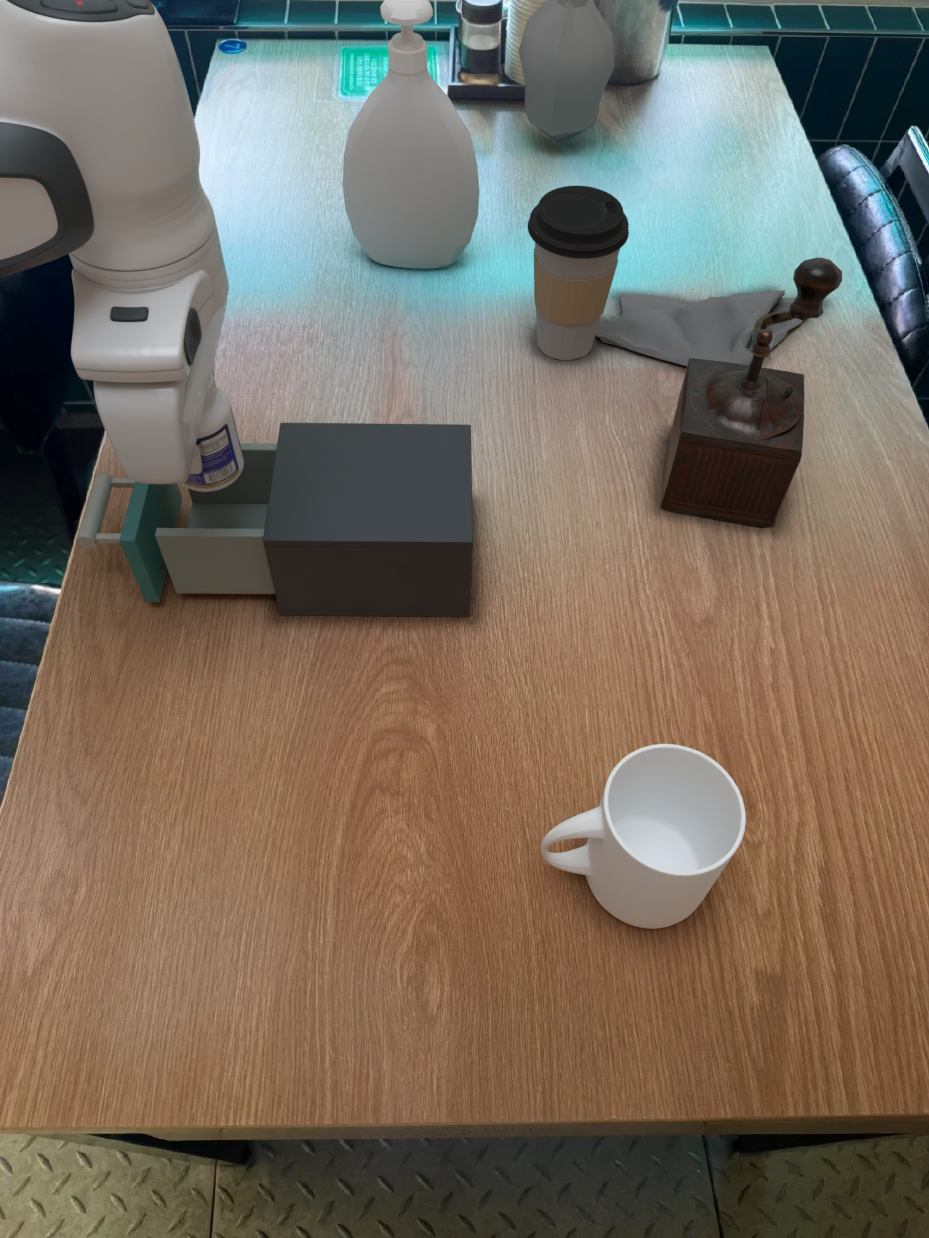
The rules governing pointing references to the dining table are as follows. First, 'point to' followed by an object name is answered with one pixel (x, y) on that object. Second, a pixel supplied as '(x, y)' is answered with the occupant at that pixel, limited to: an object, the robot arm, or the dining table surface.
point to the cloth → (695, 326)
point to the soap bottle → (410, 159)
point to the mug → (655, 835)
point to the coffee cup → (574, 265)
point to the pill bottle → (217, 444)
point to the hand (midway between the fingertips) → (199, 435)
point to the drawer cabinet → (371, 520)
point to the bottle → (565, 66)
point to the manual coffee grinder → (743, 422)
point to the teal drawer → (192, 531)
